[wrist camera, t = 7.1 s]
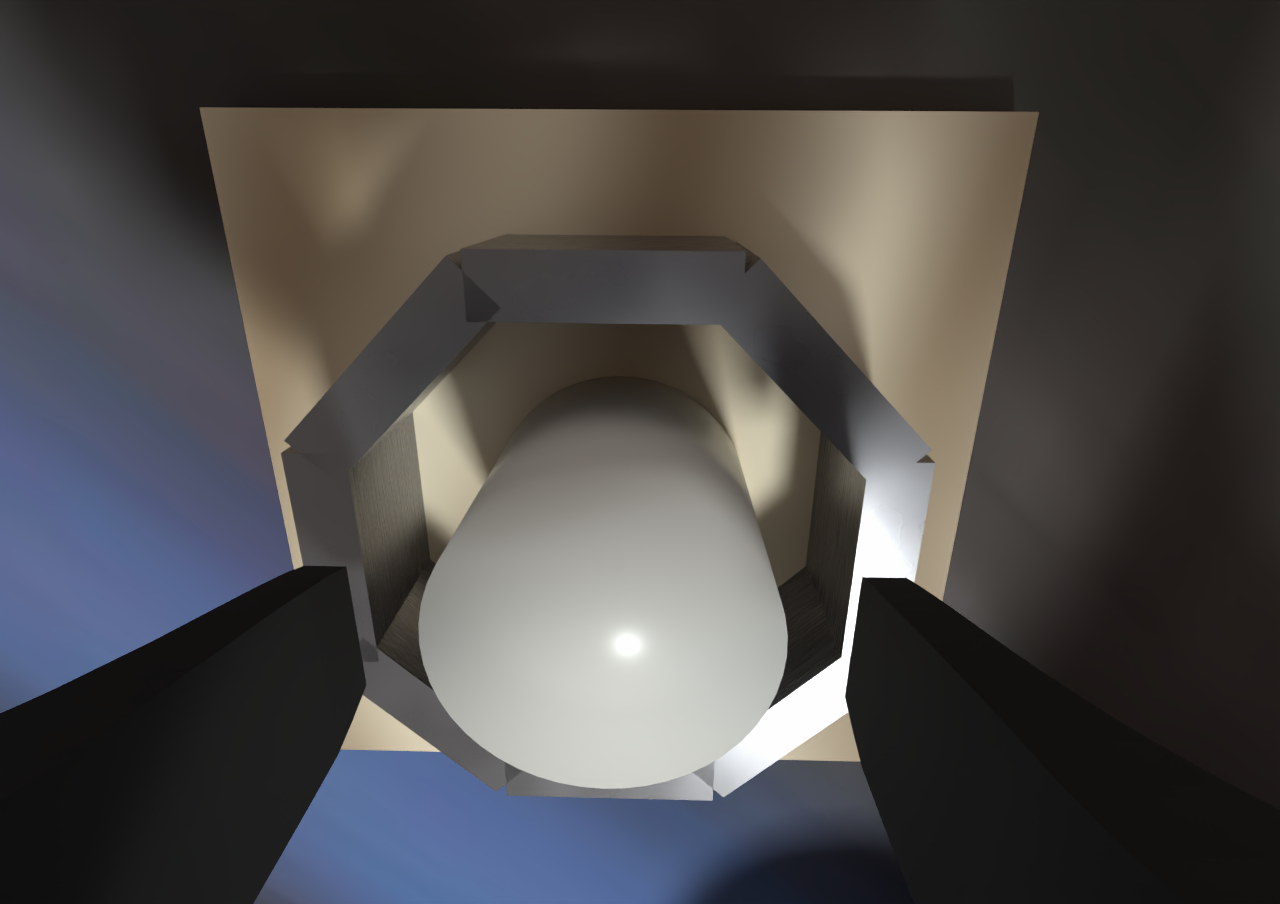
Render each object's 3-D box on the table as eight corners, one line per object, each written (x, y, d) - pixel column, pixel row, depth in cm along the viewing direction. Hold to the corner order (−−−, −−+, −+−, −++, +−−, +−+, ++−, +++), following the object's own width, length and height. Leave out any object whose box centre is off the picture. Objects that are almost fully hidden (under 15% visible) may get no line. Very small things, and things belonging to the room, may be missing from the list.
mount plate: (1015, 116, 12) (1039, 111, 11) (899, 737, 17) (910, 762, 16) (227, 112, 12) (199, 107, 11) (345, 724, 17) (331, 748, 17)
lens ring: (899, 237, 12) (973, 253, 9) (835, 693, 16) (874, 804, 13) (335, 232, 12) (239, 247, 9) (402, 684, 16) (348, 791, 13)
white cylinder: (753, 379, 13) (807, 487, 8) (735, 603, 15) (770, 795, 10) (491, 373, 13) (399, 475, 8) (505, 595, 15) (435, 783, 10)
